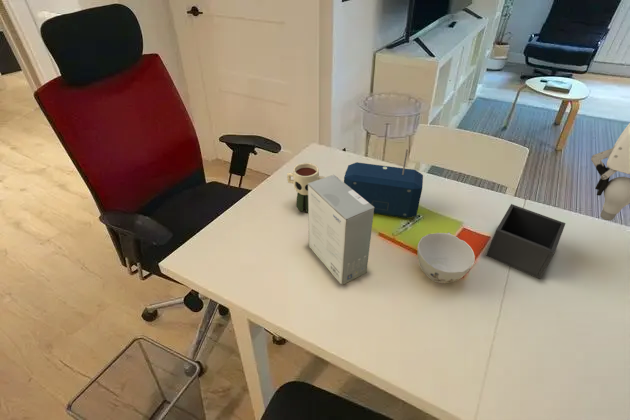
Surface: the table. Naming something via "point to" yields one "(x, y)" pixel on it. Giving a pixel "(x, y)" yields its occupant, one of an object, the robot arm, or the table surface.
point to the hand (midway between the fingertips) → (617, 197)
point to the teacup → (444, 257)
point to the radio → (387, 187)
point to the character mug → (303, 182)
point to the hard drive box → (339, 227)
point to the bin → (525, 240)
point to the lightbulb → (615, 197)
